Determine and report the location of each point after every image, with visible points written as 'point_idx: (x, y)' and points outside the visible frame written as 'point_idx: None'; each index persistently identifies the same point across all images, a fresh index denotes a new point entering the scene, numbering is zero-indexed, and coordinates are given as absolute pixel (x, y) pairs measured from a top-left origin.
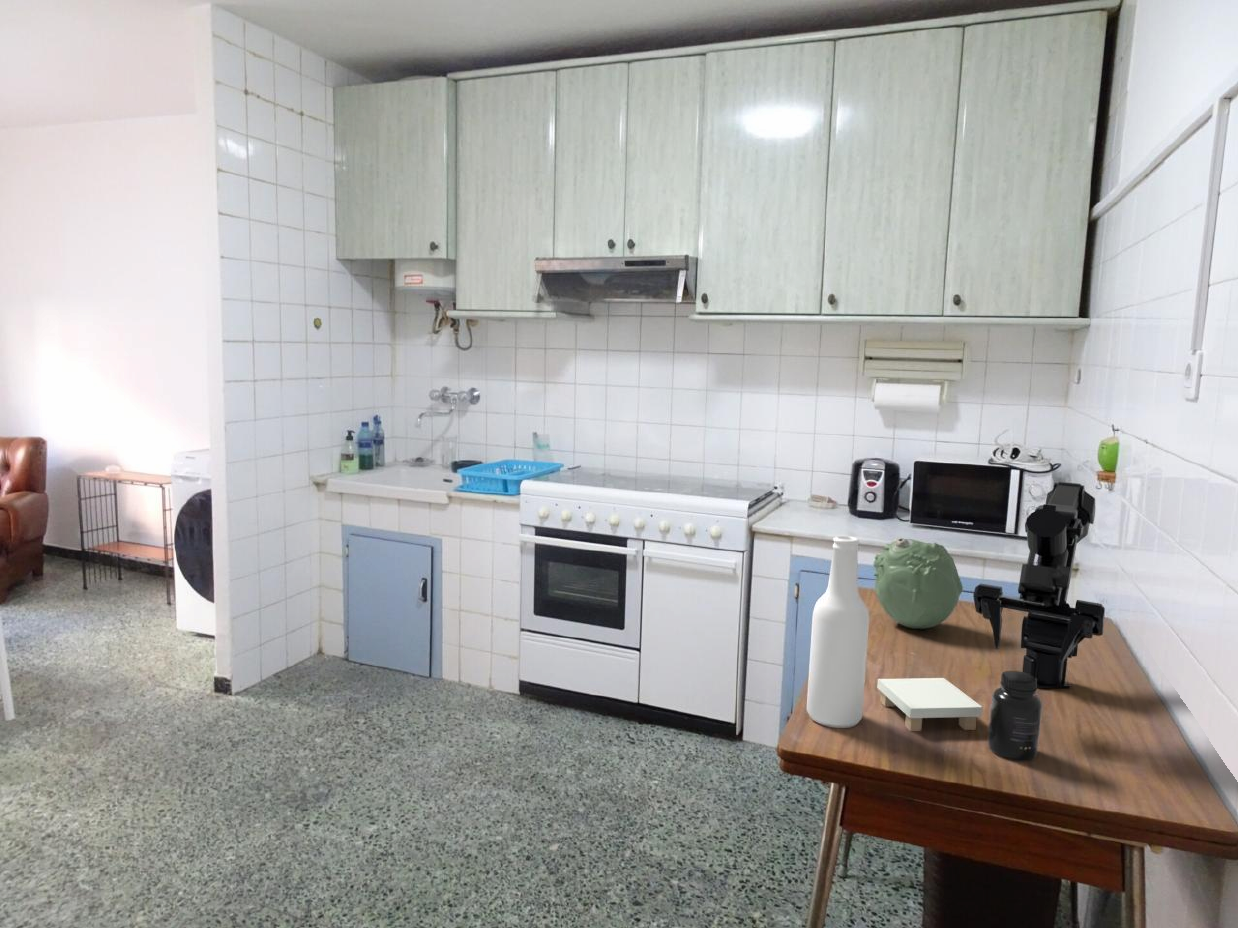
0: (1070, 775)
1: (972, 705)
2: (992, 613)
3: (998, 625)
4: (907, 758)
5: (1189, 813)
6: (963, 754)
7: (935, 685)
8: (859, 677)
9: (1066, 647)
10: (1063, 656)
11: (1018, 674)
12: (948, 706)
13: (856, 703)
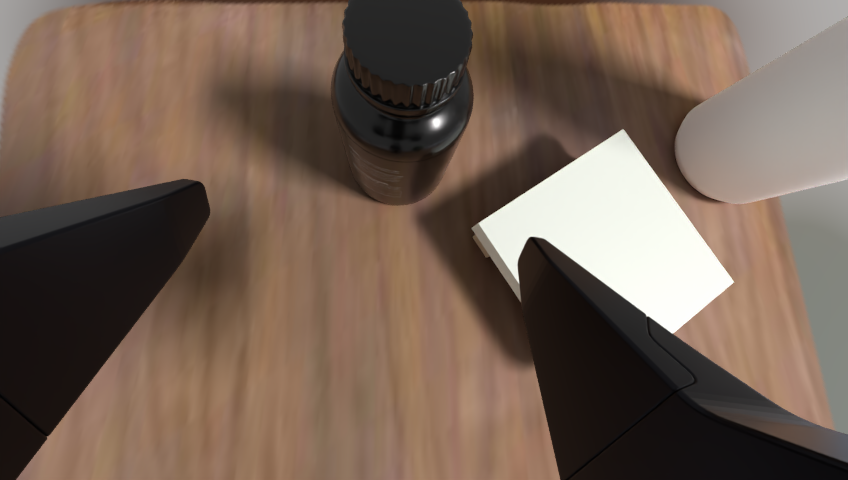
0: (291, 106)
1: (501, 220)
2: (762, 411)
3: (609, 316)
4: (566, 49)
5: (88, 45)
6: (482, 106)
7: None
8: (800, 58)
9: (105, 200)
10: (170, 183)
11: (412, 45)
12: (552, 183)
13: (723, 98)
